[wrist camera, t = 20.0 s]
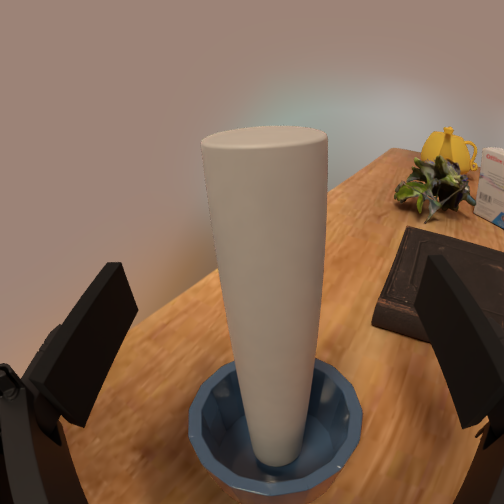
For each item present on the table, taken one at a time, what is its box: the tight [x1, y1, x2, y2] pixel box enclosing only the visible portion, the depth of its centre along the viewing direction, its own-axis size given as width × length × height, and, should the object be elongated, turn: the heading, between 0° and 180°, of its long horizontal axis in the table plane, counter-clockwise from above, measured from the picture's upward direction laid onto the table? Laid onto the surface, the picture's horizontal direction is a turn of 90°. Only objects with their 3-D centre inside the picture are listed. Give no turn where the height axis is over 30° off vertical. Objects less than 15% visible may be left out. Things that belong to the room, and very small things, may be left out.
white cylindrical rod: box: [201, 126, 328, 467], centre depth 10 cm, size 3×3×16 cm
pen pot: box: [188, 358, 363, 504], centre depth 13 cm, size 8×8×6 cm
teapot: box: [421, 127, 478, 175], centre depth 55 cm, size 20×15×12 cm
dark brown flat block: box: [371, 226, 504, 342], centre depth 21 cm, size 16×23×2 cm
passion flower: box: [394, 155, 476, 224], centre depth 37 cm, size 11×11×12 cm
